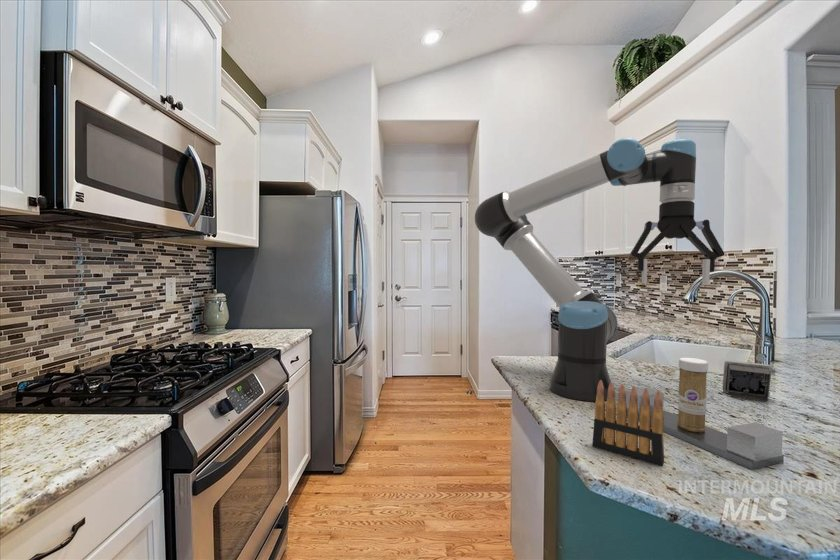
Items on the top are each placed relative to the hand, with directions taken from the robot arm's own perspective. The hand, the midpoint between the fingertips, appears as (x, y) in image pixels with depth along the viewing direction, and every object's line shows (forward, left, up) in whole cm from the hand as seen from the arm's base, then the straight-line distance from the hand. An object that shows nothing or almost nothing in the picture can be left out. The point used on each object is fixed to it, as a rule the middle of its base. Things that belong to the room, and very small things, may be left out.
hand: (674, 284), depth 98 cm
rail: (-3, -28, -29) cm, 40 cm away
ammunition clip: (-16, -42, -29) cm, 53 cm away
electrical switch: (+18, +5, -29) cm, 34 cm away
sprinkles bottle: (-3, -28, -28) cm, 39 cm away
